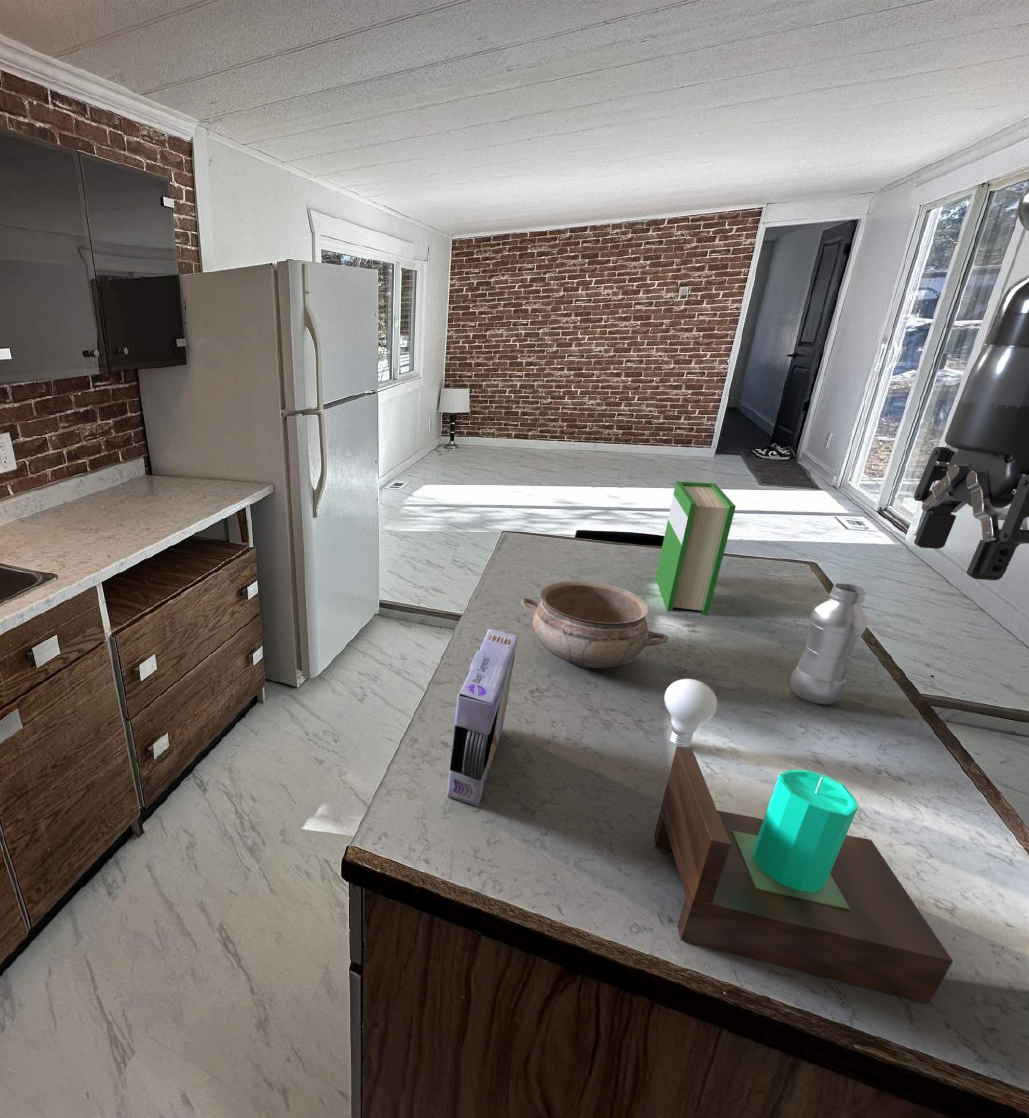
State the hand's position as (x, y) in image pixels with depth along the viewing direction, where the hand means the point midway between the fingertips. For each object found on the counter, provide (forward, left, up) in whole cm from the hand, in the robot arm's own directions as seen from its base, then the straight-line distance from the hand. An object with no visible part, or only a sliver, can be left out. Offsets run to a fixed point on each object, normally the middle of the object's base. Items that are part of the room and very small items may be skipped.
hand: (953, 561), depth 60 cm
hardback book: (+3, -68, -36) cm, 77 cm away
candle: (+12, +15, -30) cm, 36 cm away
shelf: (+12, +15, -36) cm, 41 cm away
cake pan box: (+43, +1, -36) cm, 57 cm away
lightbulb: (+15, -12, -36) cm, 41 cm away
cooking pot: (+26, -34, -36) cm, 56 cm away
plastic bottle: (-8, -31, -36) cm, 48 cm away
